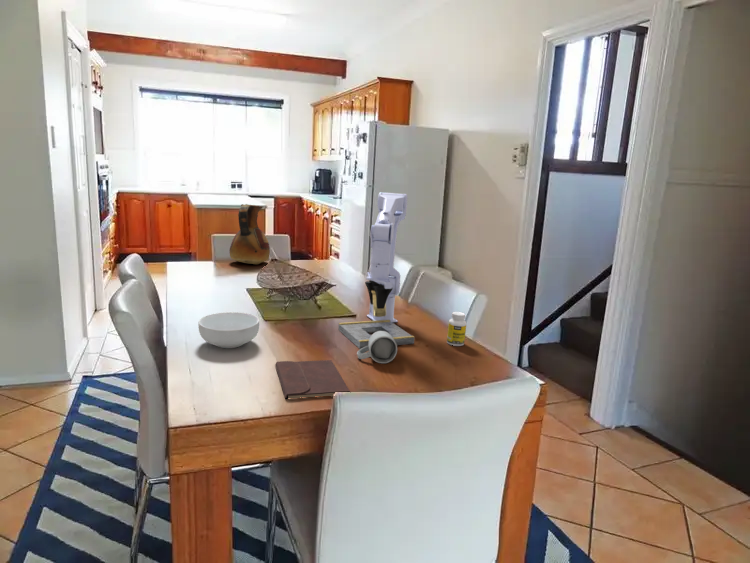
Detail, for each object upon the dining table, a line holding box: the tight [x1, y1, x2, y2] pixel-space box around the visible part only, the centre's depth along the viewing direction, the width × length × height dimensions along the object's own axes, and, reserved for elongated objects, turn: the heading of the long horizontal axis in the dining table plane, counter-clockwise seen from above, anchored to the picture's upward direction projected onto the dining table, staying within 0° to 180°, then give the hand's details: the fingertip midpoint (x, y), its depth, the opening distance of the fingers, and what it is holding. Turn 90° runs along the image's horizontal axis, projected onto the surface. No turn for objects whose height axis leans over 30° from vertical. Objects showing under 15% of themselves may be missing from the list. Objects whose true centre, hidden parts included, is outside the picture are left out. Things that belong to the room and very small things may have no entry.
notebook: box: [274, 359, 351, 399], centre depth 128 cm, size 15×20×2 cm
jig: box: [338, 320, 415, 350], centre depth 164 cm, size 18×18×2 cm
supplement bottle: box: [446, 311, 467, 347], centre depth 161 cm, size 5×5×10 cm
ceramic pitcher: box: [229, 203, 271, 265], centre depth 262 cm, size 20×20×30 cm
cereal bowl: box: [198, 311, 260, 349], centre depth 149 cm, size 17×17×7 cm
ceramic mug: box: [356, 331, 398, 364], centre depth 145 cm, size 11×8×8 cm
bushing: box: [371, 289, 386, 317], centre depth 162 cm, size 5×5×8 cm
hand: (377, 306), depth 162 cm, fingers closed on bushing, 4 cm apart
